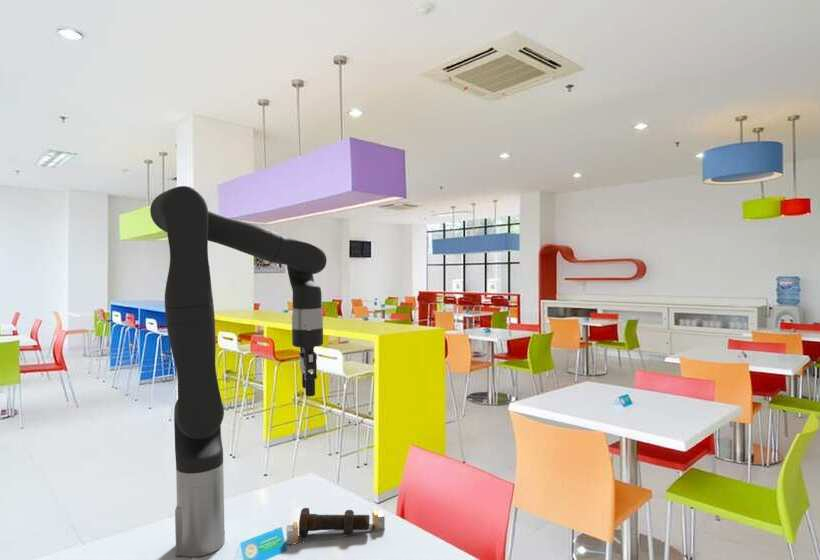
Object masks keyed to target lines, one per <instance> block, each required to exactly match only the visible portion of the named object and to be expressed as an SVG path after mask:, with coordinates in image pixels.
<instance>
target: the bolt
mask: <svg viewBox="0 0 820 560" xmlns="http://www.w3.org/2000/svg"><path fill="white" fill-rule="evenodd" d="M370 517H371V516H370V514H355V513H354V511H353V510H352V509H346V511H345V512H344V514H332V513H331V514H326V513H325V514H318V513H317V514H316V513H310V508H309V507H303V508H302V509H301V511H300V515H299V522H298V536H301V537H307V534H309V532H315V531H331V530H344V534H345V535H349V536H352V535H351V534H352V533H353V530H361V529H362V530H367V529H369V524H370V519H371V518H370Z"/></svg>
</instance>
